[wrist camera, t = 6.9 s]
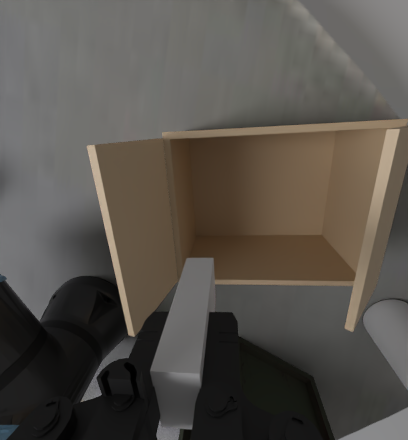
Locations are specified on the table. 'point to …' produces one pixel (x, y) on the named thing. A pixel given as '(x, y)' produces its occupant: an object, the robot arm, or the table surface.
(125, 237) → the flap
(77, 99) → the table surface
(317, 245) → the carton
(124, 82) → the table surface
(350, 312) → the flap
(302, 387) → the first aid box
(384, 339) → the pill bottle
